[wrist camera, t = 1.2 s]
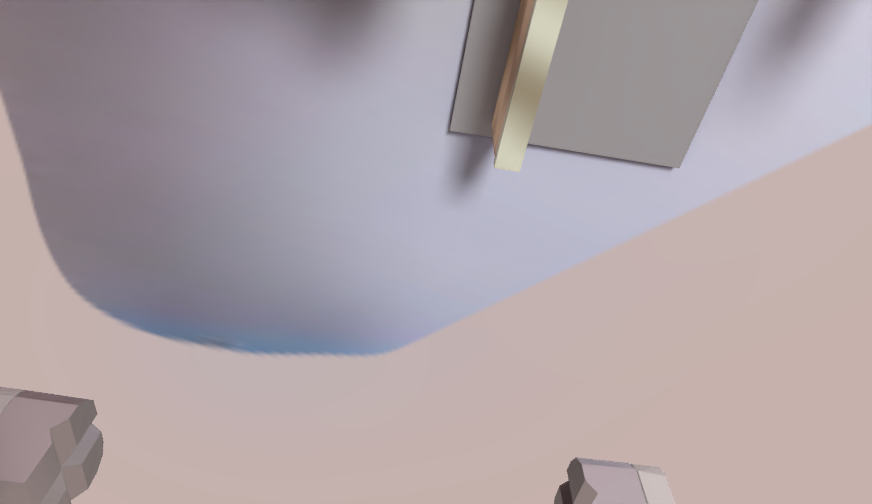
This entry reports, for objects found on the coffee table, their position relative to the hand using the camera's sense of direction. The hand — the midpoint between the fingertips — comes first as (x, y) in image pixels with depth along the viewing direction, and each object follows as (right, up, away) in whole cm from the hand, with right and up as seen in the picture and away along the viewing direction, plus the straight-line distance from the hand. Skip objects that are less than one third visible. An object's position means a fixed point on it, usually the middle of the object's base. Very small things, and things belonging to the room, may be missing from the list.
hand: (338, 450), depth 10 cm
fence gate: (+7, +16, +22) cm, 28 cm away
